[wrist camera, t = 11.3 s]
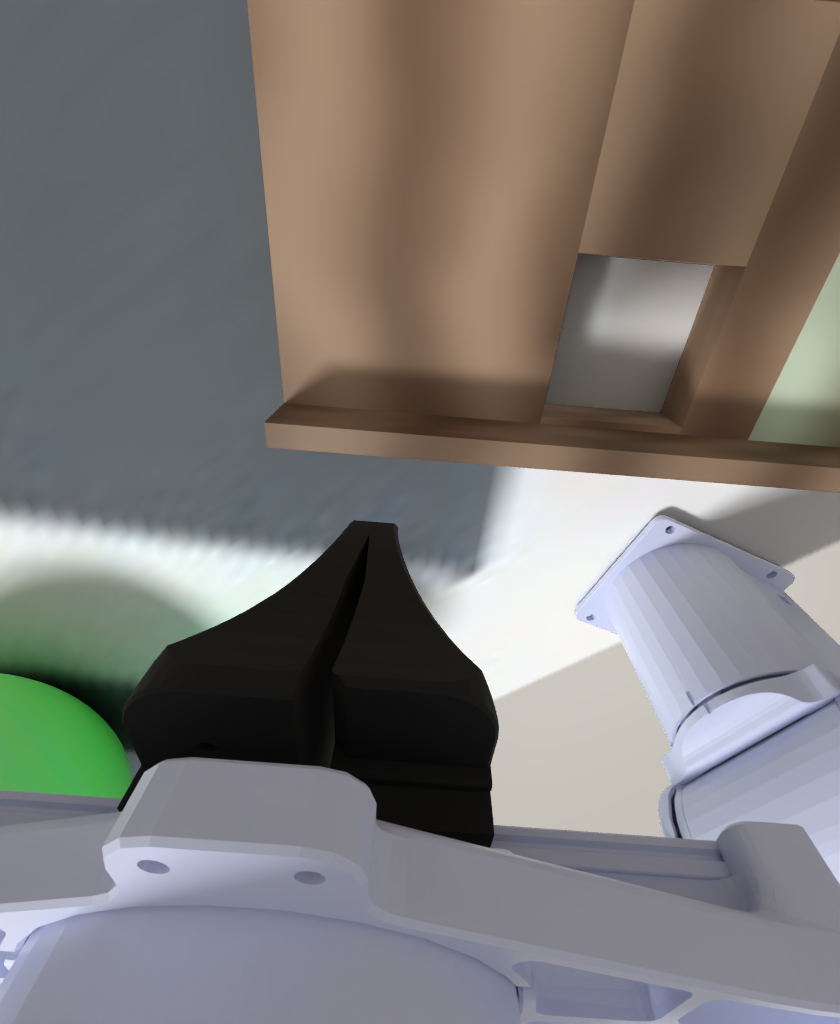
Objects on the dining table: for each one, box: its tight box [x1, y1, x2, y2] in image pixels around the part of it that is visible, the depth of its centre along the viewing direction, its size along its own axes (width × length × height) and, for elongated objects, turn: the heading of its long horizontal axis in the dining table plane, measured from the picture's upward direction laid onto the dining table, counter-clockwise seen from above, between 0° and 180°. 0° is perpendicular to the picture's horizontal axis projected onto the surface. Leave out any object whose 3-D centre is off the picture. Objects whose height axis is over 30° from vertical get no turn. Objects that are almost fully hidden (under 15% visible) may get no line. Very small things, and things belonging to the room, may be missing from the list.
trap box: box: [247, 0, 840, 492], centre depth 13 cm, size 28×21×5 cm
